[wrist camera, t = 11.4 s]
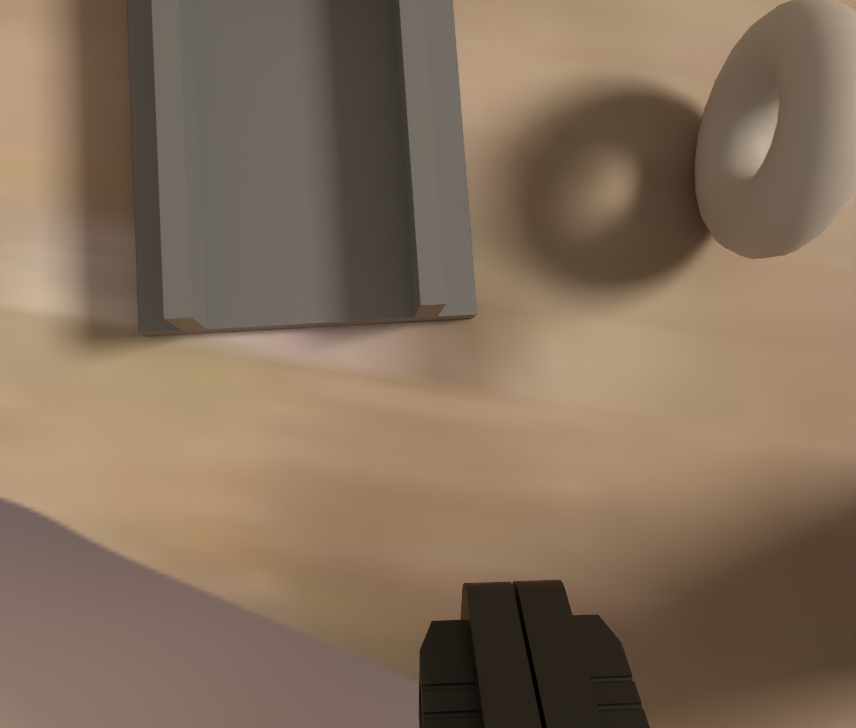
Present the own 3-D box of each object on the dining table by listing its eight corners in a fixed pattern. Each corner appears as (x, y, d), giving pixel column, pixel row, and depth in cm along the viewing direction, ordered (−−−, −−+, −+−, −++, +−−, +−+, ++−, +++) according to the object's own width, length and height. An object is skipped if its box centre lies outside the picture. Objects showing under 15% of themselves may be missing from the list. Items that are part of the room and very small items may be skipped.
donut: (748, 285, 35) (905, 224, 25) (676, 278, 35) (806, 212, 25) (756, 79, 36) (910, -58, 26) (686, 70, 36) (815, -72, 26)
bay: (431, -226, 36) (444, -332, 31) (473, 317, 33) (494, 296, 29) (124, -233, 34) (86, -346, 29) (145, 335, 32) (108, 316, 27)
